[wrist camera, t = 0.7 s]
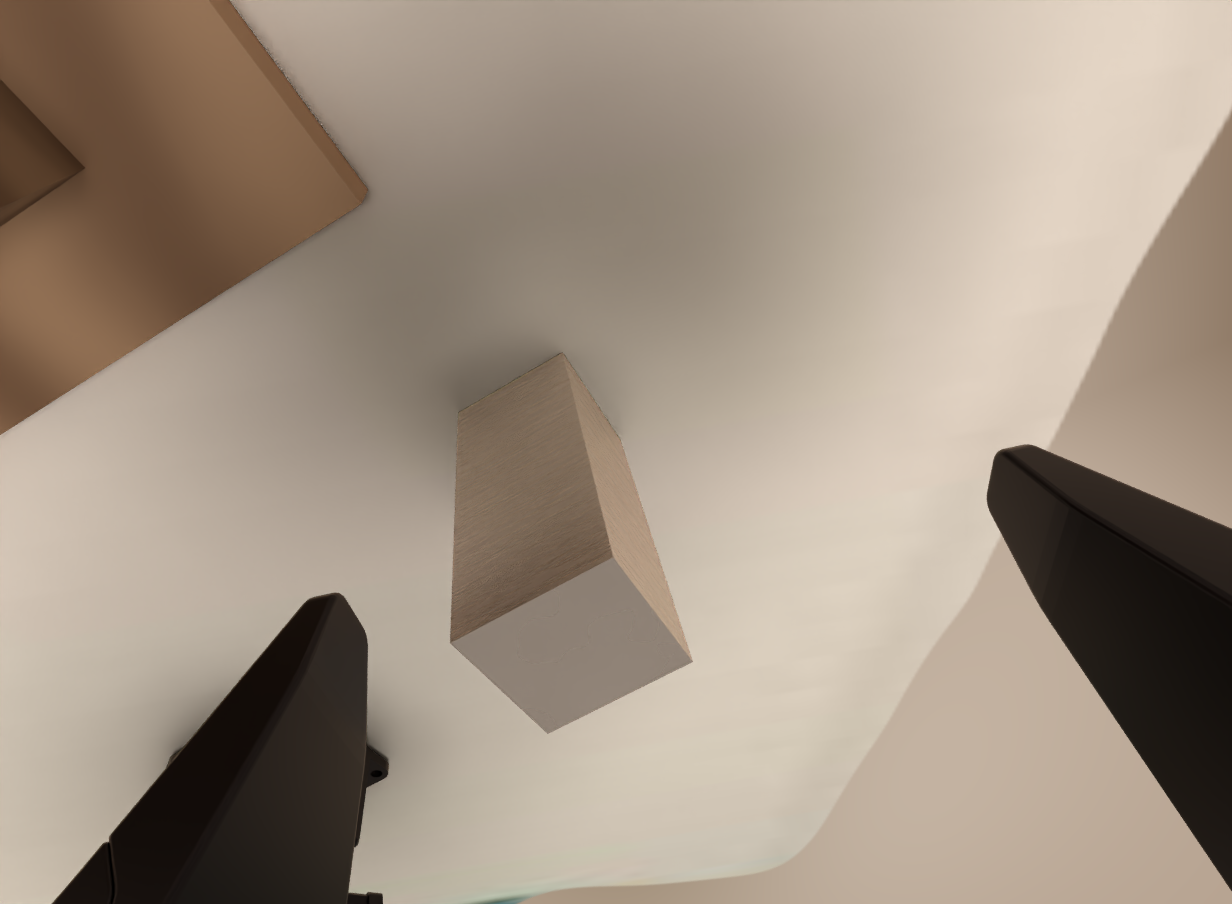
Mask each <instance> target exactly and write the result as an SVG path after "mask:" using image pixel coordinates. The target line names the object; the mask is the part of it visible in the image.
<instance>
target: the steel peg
mask: <svg viewBox="0 0 1232 904" xmlns="http://www.w3.org/2000/svg"><path fill="white" fill-rule="evenodd" d="M450 643H451V644H452V645H453V646H454V647H455V648H456V649H457V650H458V651H459V652H460V653H461V654H462V655H464V656H465V657H466V658H467V659H468V660H469V661H470V662H471V663H472V664H473V665H474V666H475V667H476V668H478V669H479V670H480V671H481V672H482V673H483V674H484V675H485V676H486V677H487V678H488V679H489V680H490V681H492V682H493V683H494V684H495V685H496V686H497V687H498V688H499V689H500V690H501V691H502V692H503V693H504V694H506V695H507V696H508V697H509V698H510V699H511V700H512V701H513V702H514V703H515V704H516V705H517V706H518V707H520V708H521V709H522V710H523V711H524V712H525V713H526V714H527V715H528V716H529V717H530V718H531V719H532V720H534V721H535V722H536V723H537V724H538V725H539V726H540V727H541V728H542V729H543V730H544V731H545V732H547V733H550V732H552V731H554V730H556V729H558V728H560V727H562V726H564V725H566V724H568V723H570V722H572V721H574V720H576V719H579V718H581V717H583V716H585V715H587V714H589V713H591V712H593V711H595V710H597V709H599V708H601V707H603V706H605V705H607V704H609V703H611V702H613V701H615V700H617V699H619V698H621V697H623V696H625V695H627V694H629V693H631V692H633V691H635V690H637V689H639V688H641V687H643V686H645V685H647V684H649V683H651V682H653V681H655V680H657V679H659V678H661V677H663V676H665V675H667V674H669V673H671V672H673V671H675V670H677V669H679V668H681V667H683V666H685V665H687V664H689V663H691V662H693V661H692V658H691V654H690V651H689V648H688V645H687V642H686V639H685V636H684V633H683V630H682V627H681V624H680V621H679V618H678V615H677V612H676V609H675V605H674V602H673V599H672V596H671V593H670V590H669V587H668V584H667V581H666V578H665V575H664V572H663V569H662V566H661V563H660V560H659V556H658V553H657V550H656V547H655V544H654V541H653V538H652V535H651V532H650V529H649V526H648V523H647V520H646V517H645V514H644V511H643V507H642V504H641V501H640V498H639V495H638V492H637V489H636V486H635V483H634V480H633V477H632V474H631V471H630V468H629V465H628V462H627V458H626V455H625V452H624V449H623V446H622V443H621V440H620V439H619V437H618V436H617V434H616V433H615V431H614V430H613V428H612V426H611V425H610V423H609V422H608V420H607V419H606V417H605V416H604V414H603V413H602V411H601V410H600V408H599V407H598V405H597V404H596V402H595V401H594V399H593V398H592V396H591V395H590V393H589V392H588V390H587V389H586V387H585V386H584V384H583V382H582V381H581V379H580V378H579V376H578V375H577V373H576V372H575V370H574V369H573V367H572V366H571V364H570V363H569V361H568V360H567V358H566V357H565V355H564V354H563V352H562V353H561V354H559V355H557V356H555V357H554V358H552V359H550V360H548V361H547V362H545V363H543V364H542V365H540V366H538V367H536V368H535V369H533V370H531V371H529V372H528V373H526V374H524V375H523V376H521V377H519V378H517V379H516V380H514V381H512V382H510V383H509V384H507V385H505V386H504V387H502V388H500V389H498V390H497V391H495V392H493V393H491V394H490V395H488V396H486V397H484V398H483V399H481V400H479V401H478V402H476V403H474V404H472V405H471V406H469V407H467V408H465V409H464V410H462V411H460V412H459V413H458V431H457V460H456V489H455V518H454V547H453V576H452V605H451V634H450Z"/></svg>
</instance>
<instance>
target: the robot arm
mask: <svg viewBox="0 0 1232 904" xmlns="http://www.w3.org/2000/svg"><path fill="white" fill-rule="evenodd" d="M987 504H988V508H989V511H990V513H991V515H992V517H993V519H994V521H995V523H996V525H997V527H998V528H999V530H1000V532H1001V534H1002V536H1003V538H1004V540H1005V542H1006V544H1007V546H1008V548H1009V549H1010V551H1011V553H1012V555H1013V557H1014V559H1015V561H1016V563H1017V565H1018V567H1019V569H1020V571H1021V573H1022V574H1023V576H1024V578H1025V580H1026V582H1027V584H1028V586H1029V588H1030V590H1031V592H1032V593H1033V595H1034V597H1035V599H1036V600H1037V602H1038V604H1039V606H1040V607H1041V609H1042V611H1043V612H1044V614H1045V615H1046V617H1047V618H1048V620H1049V622H1050V623H1051V625H1052V626H1053V627H1054V629H1055V630H1056V632H1057V633H1058V635H1059V636H1060V638H1061V639H1062V641H1063V642H1064V644H1065V645H1066V647H1067V648H1068V650H1069V651H1070V653H1071V654H1072V656H1073V657H1074V659H1075V660H1076V662H1077V663H1078V664H1079V666H1080V667H1081V669H1082V670H1083V672H1084V673H1085V675H1086V676H1087V678H1088V679H1089V681H1090V682H1091V684H1092V685H1093V687H1094V688H1095V690H1096V691H1097V692H1098V694H1099V696H1100V697H1101V698H1102V700H1103V701H1104V703H1105V704H1106V706H1107V707H1108V709H1109V710H1110V712H1111V713H1112V715H1113V716H1114V718H1115V719H1116V721H1117V722H1118V724H1119V725H1120V727H1121V728H1122V730H1123V731H1124V733H1125V734H1126V735H1127V737H1128V738H1129V740H1130V741H1131V743H1132V744H1133V746H1134V747H1135V749H1136V750H1137V752H1138V753H1139V755H1140V756H1141V758H1142V759H1143V761H1144V762H1145V764H1146V765H1147V767H1148V768H1149V770H1150V771H1151V772H1152V774H1153V775H1154V777H1155V778H1156V780H1157V781H1158V783H1159V784H1160V786H1161V787H1162V789H1163V790H1164V792H1165V793H1166V795H1167V796H1168V798H1169V799H1170V801H1171V802H1172V804H1173V805H1174V807H1175V808H1176V810H1177V811H1178V812H1179V814H1180V815H1181V817H1182V818H1183V820H1184V821H1185V823H1186V824H1187V826H1188V827H1189V829H1190V830H1191V832H1192V833H1193V835H1194V836H1195V838H1196V839H1197V841H1198V842H1199V844H1200V845H1201V847H1202V848H1203V850H1204V851H1205V852H1206V854H1207V855H1208V857H1209V858H1210V860H1211V861H1212V863H1213V864H1214V866H1215V867H1216V869H1217V870H1218V872H1219V873H1220V875H1221V876H1222V877H1223V879H1224V881H1225V882H1226V884H1227V885H1228V886H1229V888H1230V889H1231V891H1232V529H1231V528H1229V527H1227V526H1224V525H1222V524H1219V523H1217V522H1215V521H1212V520H1210V519H1208V518H1205V517H1203V516H1200V515H1198V514H1196V513H1193V512H1191V511H1189V510H1186V509H1184V508H1181V507H1179V506H1176V505H1174V504H1172V503H1169V502H1167V501H1165V500H1162V499H1160V498H1158V497H1155V496H1153V495H1151V494H1148V493H1146V492H1143V491H1141V490H1139V489H1136V488H1134V487H1131V486H1129V485H1127V484H1124V483H1122V482H1120V481H1117V480H1115V479H1112V478H1110V477H1107V476H1105V475H1103V474H1101V473H1098V472H1096V471H1093V470H1091V469H1088V468H1086V467H1084V466H1081V465H1079V464H1077V463H1074V462H1072V461H1070V460H1067V459H1065V458H1063V457H1060V456H1057V455H1055V454H1053V453H1051V452H1048V451H1046V450H1043V449H1041V448H1039V447H1036V446H1033V445H1029V444H1027V445H1020V446H1015V447H1010V448H1006V449H1002V450H1000V451H998V452H997V454H996V455H995V457H994V460H993V465H992V470H991V475H990V481H989V486H988V491H987ZM367 668H368V643H367V637H366V633H365V630H364V628H363V626H362V625H361V623H360V622H359V620H358V618H357V617H356V615H355V613H354V612H353V610H352V609H351V607H350V605H349V604H348V602H347V600H346V599H345V598H344V596H343V595H341V594H340V593H330V594H326V595H321V596H316V597H312V598H310V599H308V600H307V601H306V602H305V603H304V604H303V605H302V606H301V607H300V609H299V610H298V611H297V612H296V613H295V615H294V616H293V617H292V618H291V619H290V621H289V622H288V623H287V624H286V625H285V627H284V628H283V629H282V630H281V631H280V633H279V634H278V635H277V636H276V637H275V639H274V640H273V641H272V642H271V643H270V645H269V646H268V647H267V648H266V649H265V651H264V652H263V653H262V654H261V655H260V657H259V658H258V659H257V660H256V661H255V662H254V664H253V665H252V666H251V667H250V668H249V670H248V671H247V672H246V673H245V674H244V676H243V677H242V678H241V679H240V680H239V682H238V683H237V684H236V685H235V686H234V688H233V689H232V690H231V691H230V692H229V694H228V695H227V696H226V697H225V698H224V700H223V701H222V702H221V703H220V704H219V706H218V707H217V708H216V709H215V710H214V712H213V713H212V714H211V715H210V716H209V718H208V719H207V720H206V721H205V722H204V723H203V725H202V726H201V727H200V728H199V729H198V731H197V732H196V733H195V734H194V735H193V737H192V738H191V739H190V740H189V741H188V743H187V744H186V745H185V746H184V747H183V749H182V750H181V751H179V752H178V753H176V754H174V755H172V756H171V757H170V759H169V762H168V765H167V767H166V769H165V770H164V771H163V773H162V774H161V775H160V776H159V777H158V779H157V780H156V781H155V782H154V783H153V784H152V786H151V787H150V788H149V789H148V790H147V792H146V793H145V794H144V795H143V796H142V798H141V799H140V800H139V801H138V802H137V804H136V805H135V806H134V807H133V808H132V810H131V811H130V812H129V813H128V814H127V816H126V817H125V818H124V819H123V820H122V822H121V823H120V824H119V825H118V826H117V828H116V829H115V830H114V831H113V832H112V834H111V835H110V836H109V842H105V843H103V844H102V845H101V846H100V848H99V849H98V850H97V851H96V852H95V854H94V855H93V856H92V857H91V858H90V860H89V861H88V862H87V863H86V864H85V865H84V867H83V868H82V869H81V870H80V871H79V873H78V874H77V875H76V876H75V877H74V878H73V880H72V881H71V882H70V883H69V884H68V885H67V887H66V888H65V889H64V890H63V891H62V892H61V894H60V895H59V896H58V897H57V898H56V899H55V900H54V902H53V903H52V904H383V896H382V894H381V893H372V892H368V893H367V894H357V893H348V890H349V883H350V875H351V867H352V859H353V851H354V847H356V846H357V845H358V843H359V838H360V831H361V824H362V816H363V809H364V801H365V794H366V788H367V787H369V786H370V785H372V784H374V783H376V782H378V781H380V780H382V779H384V778H386V777H387V775H388V771H389V763H388V762H387V761H386V760H385V759H383V758H382V757H380V756H379V755H378V754H376V753H375V752H373V751H372V750H371V749H369V748H368V747H366V738H367Z"/></svg>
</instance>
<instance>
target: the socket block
mask: <svg viewBox="0 0 1232 904" xmlns="http://www.w3.org/2000/svg"><path fill="white" fill-rule="evenodd" d="M367 191H368V189H367V188H366V187H365V185H364V184H363V183H362V181H361V180H360V178H359V177H358V176H357V174H356V173H355V172H354V170H353V169H352V168H351V166H350V165H349V163H348V162H347V161H346V159H345V158H344V157H343V155H342V154H341V153H340V151H339V150H338V148H337V147H336V146H335V144H334V143H333V142H332V140H331V139H330V138H329V136H328V135H327V133H326V132H325V131H324V129H323V128H322V127H321V125H320V124H319V123H318V121H317V120H316V118H315V117H314V116H313V114H312V113H311V112H310V110H309V109H308V108H307V106H306V105H305V103H304V102H303V101H302V99H301V98H300V97H299V95H298V94H297V93H296V91H295V90H294V88H293V87H292V86H291V84H290V83H289V82H288V80H287V79H286V78H285V76H284V75H283V73H282V72H281V71H280V69H279V68H278V67H277V65H276V64H275V63H274V61H273V60H272V58H271V57H270V56H269V54H268V53H267V52H266V50H265V49H264V48H263V46H262V45H261V43H260V42H259V41H258V39H257V38H256V37H255V35H254V34H253V33H252V31H251V30H250V28H249V27H248V26H247V24H246V23H245V22H244V20H243V19H242V18H241V16H240V15H239V13H238V12H237V11H236V9H235V8H234V7H233V5H232V4H231V3H230V1H229V0H0V435H1V434H2V433H4V432H6V431H7V430H9V429H10V428H12V427H13V426H15V425H16V424H18V423H20V422H21V421H23V420H24V419H26V418H27V417H29V416H31V415H32V414H34V413H35V412H37V411H38V410H40V409H41V408H43V407H45V406H46V405H48V404H49V403H51V402H52V401H54V400H56V399H57V398H59V397H60V396H62V395H63V394H65V393H66V392H68V391H70V390H71V389H73V388H74V387H76V386H77V385H79V384H81V383H82V382H84V381H85V380H87V379H88V378H90V377H91V376H93V375H95V374H96V373H98V372H99V371H101V370H102V369H104V368H106V367H107V366H109V365H110V364H112V363H113V362H115V361H116V360H118V359H120V358H121V357H123V356H124V355H126V354H127V353H129V352H131V351H132V350H134V349H135V348H137V347H138V346H140V345H141V344H143V343H145V342H146V341H148V340H149V339H151V338H152V337H154V336H156V335H157V334H159V333H160V332H162V331H163V330H165V329H166V328H168V327H170V326H171V325H173V324H174V323H176V322H177V321H179V320H181V319H182V318H184V317H185V316H187V315H188V314H190V313H191V312H193V311H195V310H196V309H198V308H199V307H201V306H202V305H204V304H206V303H207V302H209V301H210V300H212V299H213V298H215V297H216V296H218V295H220V294H221V293H223V292H224V291H226V290H227V289H229V288H231V287H232V286H234V285H235V284H237V283H238V282H240V281H241V280H243V279H245V278H246V277H248V276H249V275H251V274H252V273H254V272H256V271H257V270H259V269H260V268H262V267H263V266H265V265H266V264H268V263H270V262H271V261H273V260H274V259H276V258H277V257H279V256H281V255H282V254H284V253H285V252H287V251H288V250H290V249H291V248H293V247H295V246H296V245H298V244H299V243H301V242H302V241H304V240H306V239H307V238H309V237H310V236H312V235H313V234H315V233H316V232H318V231H320V230H321V229H323V228H324V227H326V226H327V225H329V224H331V223H332V222H334V221H335V220H337V219H338V218H340V217H341V216H343V215H345V214H346V213H348V212H349V211H351V210H352V209H354V208H356V207H357V206H359V205H360V204H361V203H362V201H363V199H364V197H365V195H366V193H367Z"/></svg>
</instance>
